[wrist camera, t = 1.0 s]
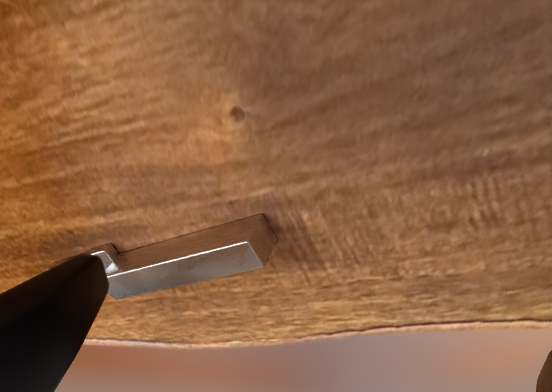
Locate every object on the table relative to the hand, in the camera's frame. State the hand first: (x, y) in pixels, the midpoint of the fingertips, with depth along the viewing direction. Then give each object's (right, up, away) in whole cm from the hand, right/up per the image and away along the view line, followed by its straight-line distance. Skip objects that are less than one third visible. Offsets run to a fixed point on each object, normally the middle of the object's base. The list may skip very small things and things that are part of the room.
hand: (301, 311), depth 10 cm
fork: (-8, -1, +21) cm, 23 cm away
